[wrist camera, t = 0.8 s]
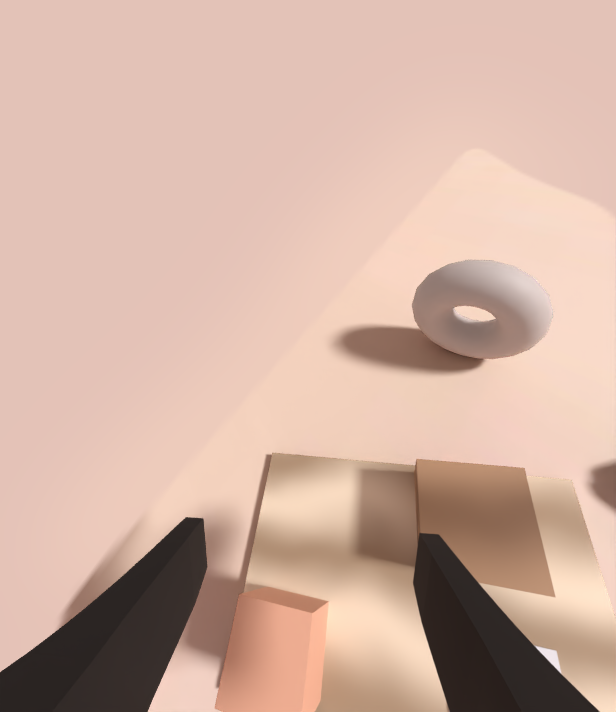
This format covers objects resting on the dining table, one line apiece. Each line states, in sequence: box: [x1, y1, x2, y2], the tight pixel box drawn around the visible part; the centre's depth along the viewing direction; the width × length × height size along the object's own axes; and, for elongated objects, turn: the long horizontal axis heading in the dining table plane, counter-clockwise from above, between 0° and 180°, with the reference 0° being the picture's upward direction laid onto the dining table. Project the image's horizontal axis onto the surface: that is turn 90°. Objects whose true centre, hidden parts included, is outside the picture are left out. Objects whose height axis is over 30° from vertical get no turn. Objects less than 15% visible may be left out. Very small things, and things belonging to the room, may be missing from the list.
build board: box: [243, 453, 616, 712], centre depth 19 cm, size 15×22×1 cm
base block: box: [414, 459, 556, 598], centre depth 18 cm, size 6×6×4 cm
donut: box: [412, 260, 553, 359], centre depth 23 cm, size 10×3×10 cm, turn 58°
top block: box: [215, 586, 329, 712], centre depth 17 cm, size 4×4×4 cm
